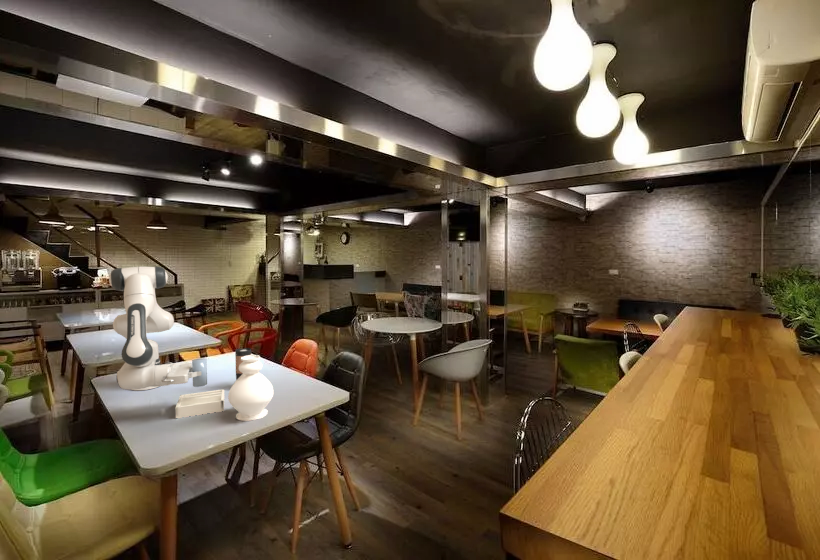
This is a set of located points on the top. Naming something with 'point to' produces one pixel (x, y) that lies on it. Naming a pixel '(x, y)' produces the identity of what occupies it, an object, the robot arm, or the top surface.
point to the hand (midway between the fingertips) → (202, 370)
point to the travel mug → (239, 354)
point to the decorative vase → (250, 390)
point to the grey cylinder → (200, 366)
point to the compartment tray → (200, 403)
